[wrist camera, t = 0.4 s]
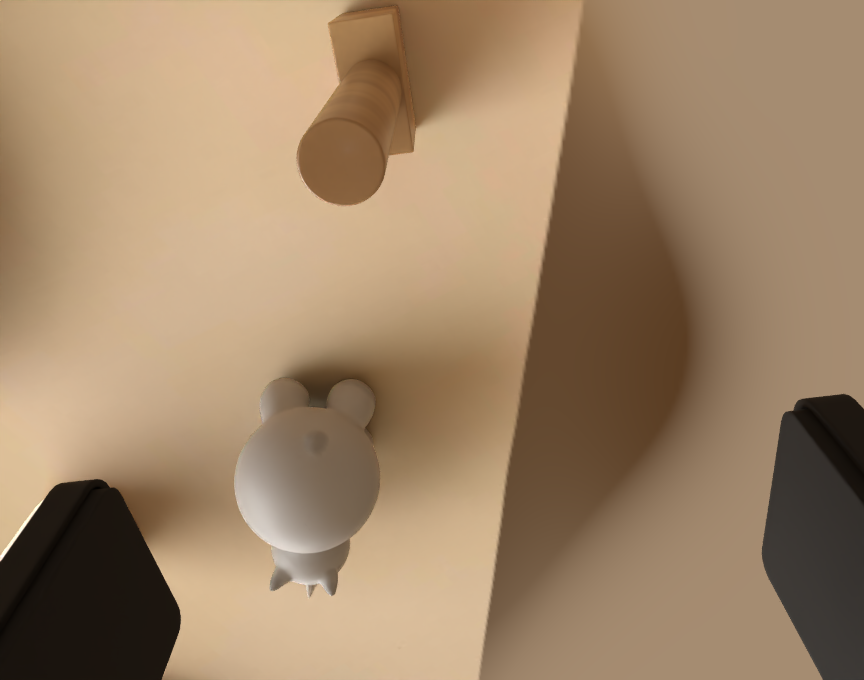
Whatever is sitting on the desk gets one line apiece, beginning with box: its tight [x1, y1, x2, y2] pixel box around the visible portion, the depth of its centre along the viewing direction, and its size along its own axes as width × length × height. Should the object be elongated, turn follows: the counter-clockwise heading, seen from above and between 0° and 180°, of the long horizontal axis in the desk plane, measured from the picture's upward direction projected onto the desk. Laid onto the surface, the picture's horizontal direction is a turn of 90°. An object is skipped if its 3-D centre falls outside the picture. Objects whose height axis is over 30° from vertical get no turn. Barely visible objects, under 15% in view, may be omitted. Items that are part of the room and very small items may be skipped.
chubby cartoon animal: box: [234, 378, 380, 598], centre depth 35 cm, size 7×12×8 cm, turn 174°
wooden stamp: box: [297, 5, 416, 206], centre depth 22 cm, size 5×2×14 cm, turn 8°
